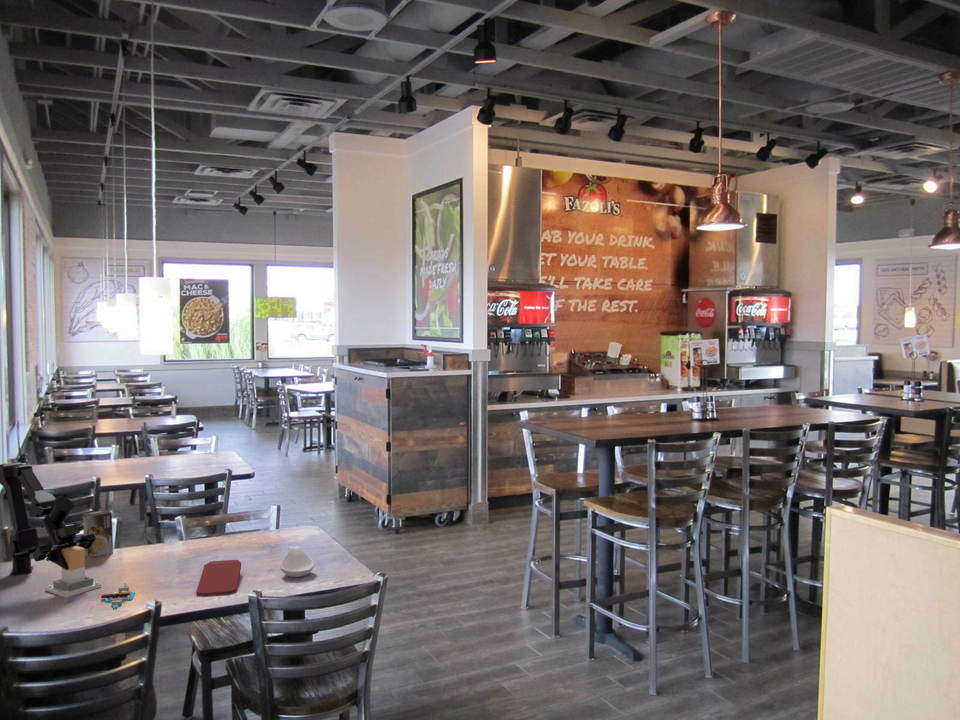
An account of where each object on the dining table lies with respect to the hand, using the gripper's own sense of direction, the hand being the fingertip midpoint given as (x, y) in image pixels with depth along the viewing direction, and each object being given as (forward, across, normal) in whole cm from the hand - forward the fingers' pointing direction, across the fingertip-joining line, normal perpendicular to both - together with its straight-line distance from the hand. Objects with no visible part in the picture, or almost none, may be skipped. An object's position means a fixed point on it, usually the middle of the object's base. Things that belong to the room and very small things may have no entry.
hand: (75, 567), depth 245 cm
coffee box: (-18, +27, +28) cm, 42 cm away
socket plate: (+4, 0, +6) cm, 8 cm away
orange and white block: (+3, 0, +6) cm, 7 cm away
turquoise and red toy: (+19, +3, -7) cm, 21 cm away
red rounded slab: (+30, +31, -18) cm, 47 cm away
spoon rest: (+38, +54, -26) cm, 71 cm away
